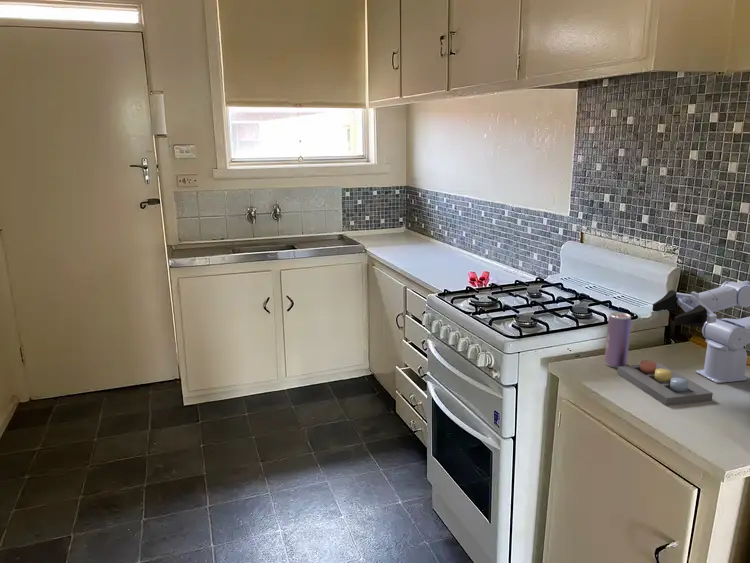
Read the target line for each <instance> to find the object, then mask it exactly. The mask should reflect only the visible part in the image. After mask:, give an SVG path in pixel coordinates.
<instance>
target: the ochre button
mask: <svg viewBox="0 0 750 563" xmlns="http://www.w3.org/2000/svg"><path fill="white" fill-rule="evenodd" d="M671 378H672V372H671V371H670V370H667V369H661V368H659V369H656V370H655V376H654V379H655V380H657V381H660V382H671Z"/></svg>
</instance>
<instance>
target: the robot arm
mask: <svg viewBox="0 0 750 563" xmlns="http://www.w3.org/2000/svg"><path fill="white" fill-rule="evenodd" d="M677 305H678V306H679V307H680V308H681V309H682V310H683V311H684V313H680V314H677V315H676V316H674V317H673V318H674V320H673V325H674V326H693V327H698V328H702V329H701V334H702V336H703V337H704V338H705V343H706V344H707V346H706V352H705V360H704V366H703V369H696V370H695V372H696V373H697V374H699V375H701V376H702V377H704V378H706V379H708V380H710V381H712V382H714V383H715V384H721V383H732V382H741V381H747V380H748V378H747V377H745V375H746V369H747V362H748V354H747V350H746V349H745V348H744V347H745V346H747V345H749V344H750V316H747V317H742V318H726V317H723V318H718V315H717V314H716V313H715V312H719V311H722V310H725V309H729V308H732V307H735V306H738V307H742V308H745V309H747V308H749V307H750V281H749V280H743V282H736V281H729V280H726V281H724V282H723V283H722V284H721V286H718V287H715V288H712V289H709V290H706V291H702V292H697V291H695V290H694V291H691V292H690V293H682V292H677V291H675V290H674V289H670V290H668V291H667V293H666V294H665V295H664V296H663V297H662V298H660V299H659V300H657V301H655V302H654V303H652V311H653V312H663V311H673V312H676V310H677Z"/></svg>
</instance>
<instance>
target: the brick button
mask: <svg viewBox="0 0 750 563" xmlns="http://www.w3.org/2000/svg"><path fill="white" fill-rule="evenodd" d="M657 363H658V362H656V361H653V360H649V359H643V360H640V364H639V365H640V370H641V371H642V372H645V373H655V370H656V367H657Z"/></svg>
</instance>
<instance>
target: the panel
mask: <svg viewBox="0 0 750 563" xmlns="http://www.w3.org/2000/svg"><path fill="white" fill-rule="evenodd" d="M656 363H657V367H656V369H659V368H661V369H667V370H670V371H671V372H672V378H683V379H686V380H687V381H688V382H689V383H688V391H687V392H677V391H674V390H672V389H670V382H660V381H657V380H655V379H654V376H655V373H645V372H642V371H641V370H640V364H635V365H634V364H633V365H626V366H622V367H618V368H616V370H617V371H616V373H617V374H616V375H618V376H620V377H621V378H623V379H625V380H626V381H627V382H629V383H630V384H632V385H634V386H635V387H637V388H639V390H641V391H643V392H644V393H646V394H647V395H649V396H650V397H652V398H653V399H655V400H657V401H658V402H660V403H661V404H662V405H664V406H674V405H682V404H684V405H685V404H691V403H693V404H694V403H701V402H709V401H713V395H714V393H713V392H712V391H710V390H708V389H707V388H705V387H703V386H701V385H699V384H698V383H696V382H694V381H692V380H691V379H689V378H687V377H685V376H684V375H682V374H681V373H679V372H677V371H674V370H672V368H669V367H667V366H665V365H664V364H662V363H660V362H656Z"/></svg>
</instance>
